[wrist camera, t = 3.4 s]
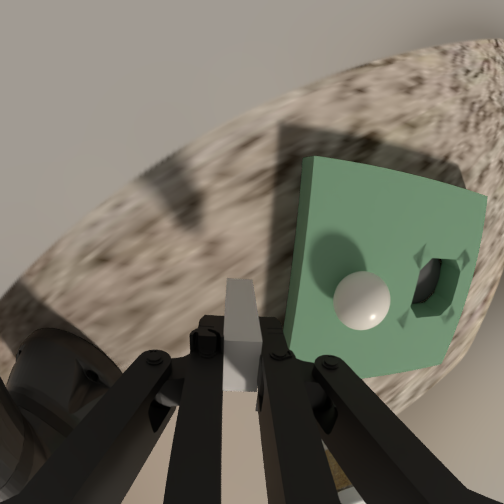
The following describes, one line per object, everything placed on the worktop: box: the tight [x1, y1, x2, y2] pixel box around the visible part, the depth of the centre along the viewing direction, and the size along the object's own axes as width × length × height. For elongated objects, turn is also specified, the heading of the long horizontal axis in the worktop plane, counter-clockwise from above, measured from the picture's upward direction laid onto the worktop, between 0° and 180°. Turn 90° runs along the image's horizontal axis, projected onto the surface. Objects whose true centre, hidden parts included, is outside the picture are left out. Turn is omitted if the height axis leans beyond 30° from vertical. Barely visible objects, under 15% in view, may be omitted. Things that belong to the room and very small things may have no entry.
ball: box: [333, 271, 390, 330], centre depth 18 cm, size 4×4×4 cm
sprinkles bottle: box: [321, 439, 366, 504], centre depth 21 cm, size 5×5×13 cm
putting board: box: [283, 156, 488, 379], centre depth 21 cm, size 18×18×3 cm
